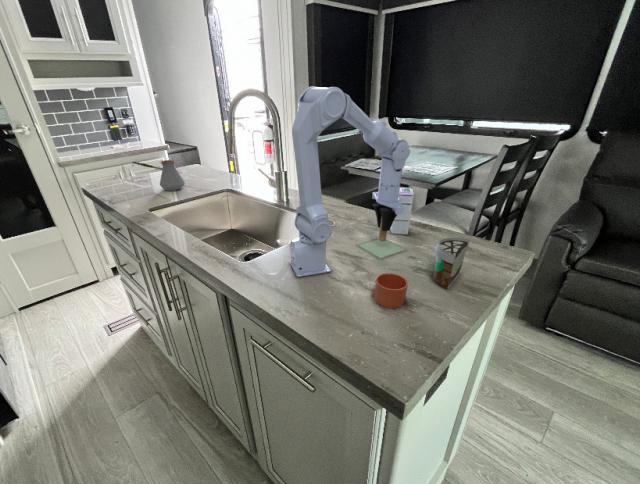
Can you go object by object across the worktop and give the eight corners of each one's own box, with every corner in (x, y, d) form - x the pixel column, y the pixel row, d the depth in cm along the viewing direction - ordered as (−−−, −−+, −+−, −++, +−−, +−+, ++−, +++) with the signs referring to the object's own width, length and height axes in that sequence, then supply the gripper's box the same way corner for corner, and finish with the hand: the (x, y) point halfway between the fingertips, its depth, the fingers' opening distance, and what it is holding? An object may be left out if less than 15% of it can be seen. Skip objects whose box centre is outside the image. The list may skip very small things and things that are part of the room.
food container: (438, 264, 91) (445, 232, 86) (460, 271, 87) (470, 238, 82) (421, 283, 82) (428, 248, 77) (445, 292, 79) (454, 256, 74)
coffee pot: (180, 184, 163) (174, 153, 156) (190, 188, 156) (183, 156, 148) (136, 192, 151) (127, 159, 144) (144, 198, 144) (135, 164, 136)
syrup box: (408, 235, 108) (415, 192, 101) (390, 233, 109) (395, 191, 102) (406, 228, 113) (413, 187, 105) (389, 227, 114) (395, 186, 107)
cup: (382, 310, 73) (385, 292, 70) (368, 293, 79) (370, 275, 76) (410, 304, 75) (414, 287, 72) (394, 288, 81) (397, 271, 78)
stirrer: (380, 241, 97) (384, 213, 93) (377, 238, 99) (380, 211, 94) (387, 240, 98) (391, 212, 93) (383, 237, 99) (387, 210, 95)
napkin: (380, 259, 94) (380, 258, 94) (358, 246, 101) (358, 245, 101) (404, 250, 98) (405, 249, 98) (382, 238, 106) (382, 238, 106)
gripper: (417, 189, 85) (408, 237, 91) (389, 176, 97) (383, 218, 103) (393, 192, 83) (386, 240, 90) (367, 178, 95) (363, 221, 102)
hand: (383, 228), depth 96 cm, fingers closed on stirrer, 2 cm apart
